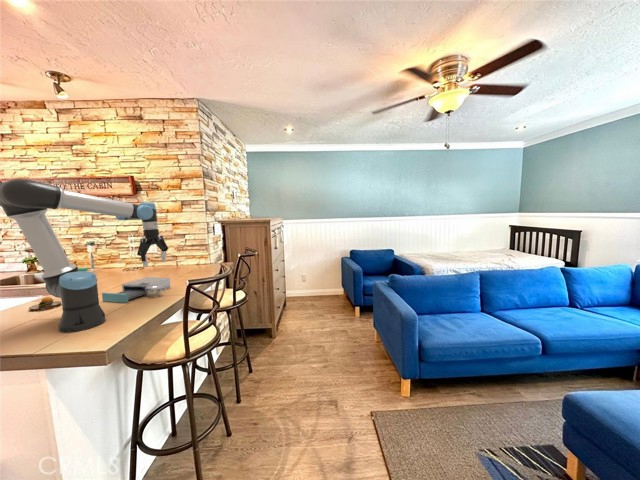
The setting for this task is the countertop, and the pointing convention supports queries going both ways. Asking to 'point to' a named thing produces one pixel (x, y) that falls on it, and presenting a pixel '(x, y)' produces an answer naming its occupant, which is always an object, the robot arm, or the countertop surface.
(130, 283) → the box
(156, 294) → the block
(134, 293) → the tray
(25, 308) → the countertop surface
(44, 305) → the burger
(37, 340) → the countertop surface
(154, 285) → the disc
